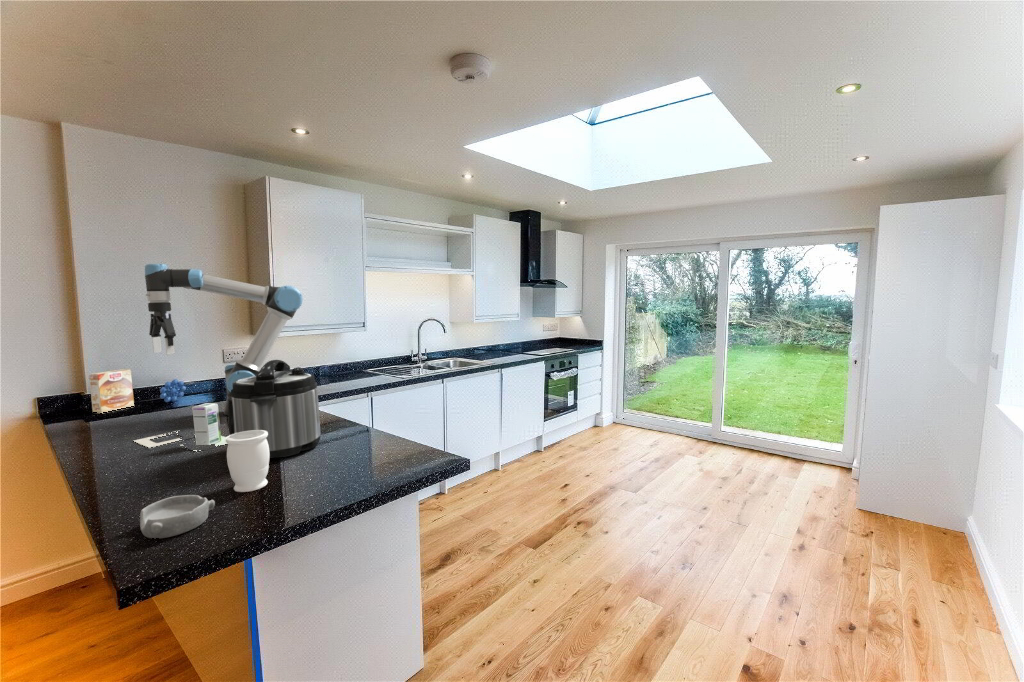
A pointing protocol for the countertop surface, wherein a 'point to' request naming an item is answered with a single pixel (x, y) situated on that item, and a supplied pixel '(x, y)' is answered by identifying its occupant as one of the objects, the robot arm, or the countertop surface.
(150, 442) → the frame
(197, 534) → the countertop surface
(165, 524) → the dish
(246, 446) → the jar
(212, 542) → the countertop surface
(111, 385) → the coffeecake box
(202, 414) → the syrup box
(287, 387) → the pressure cooker
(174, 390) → the grapes
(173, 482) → the countertop surface
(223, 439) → the mat
